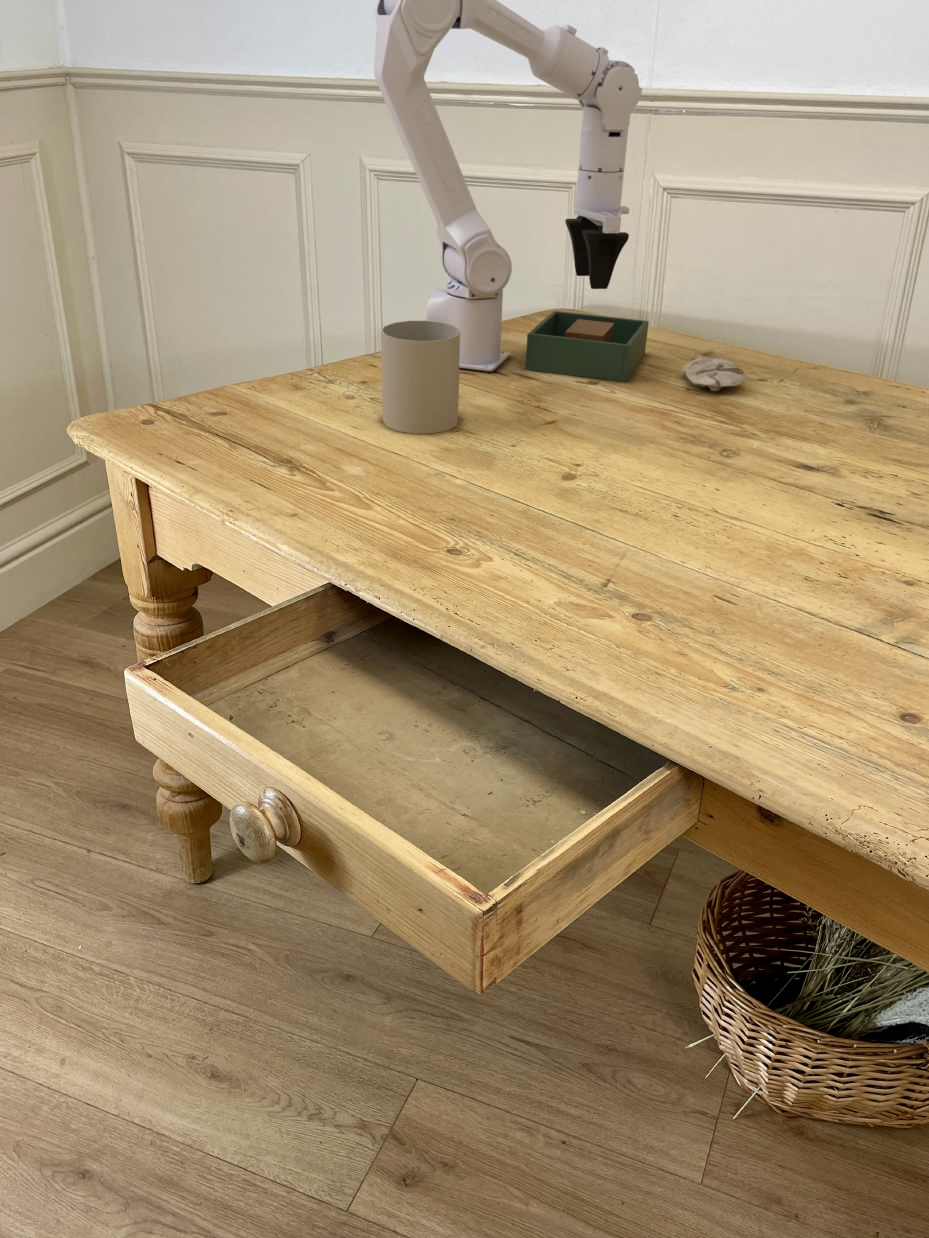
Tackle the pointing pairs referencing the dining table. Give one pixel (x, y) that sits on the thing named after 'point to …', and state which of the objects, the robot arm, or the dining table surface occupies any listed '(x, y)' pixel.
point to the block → (591, 330)
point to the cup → (420, 376)
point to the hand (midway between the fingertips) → (591, 281)
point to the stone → (713, 372)
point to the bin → (586, 348)
